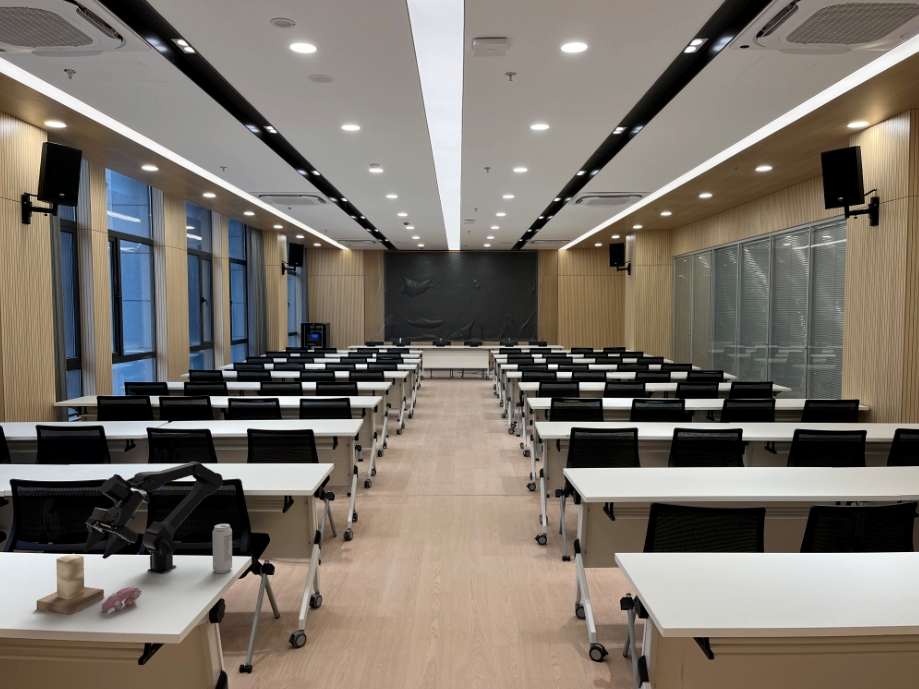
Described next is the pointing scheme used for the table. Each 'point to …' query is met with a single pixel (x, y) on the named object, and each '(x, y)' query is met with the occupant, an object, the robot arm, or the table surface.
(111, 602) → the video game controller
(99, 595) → the walnut base block
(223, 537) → the energy drink can
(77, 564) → the birch block
